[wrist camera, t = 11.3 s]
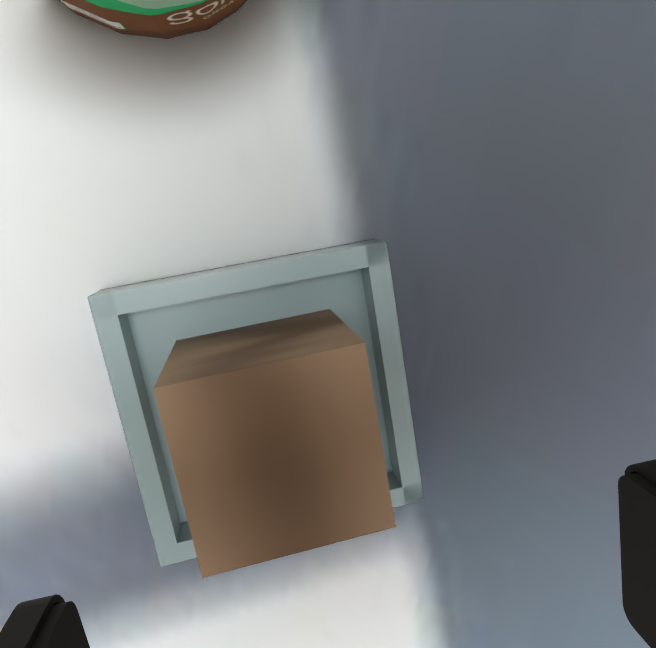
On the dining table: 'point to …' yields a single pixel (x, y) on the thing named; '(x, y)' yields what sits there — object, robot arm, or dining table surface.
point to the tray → (238, 311)
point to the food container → (155, 15)
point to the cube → (274, 439)
